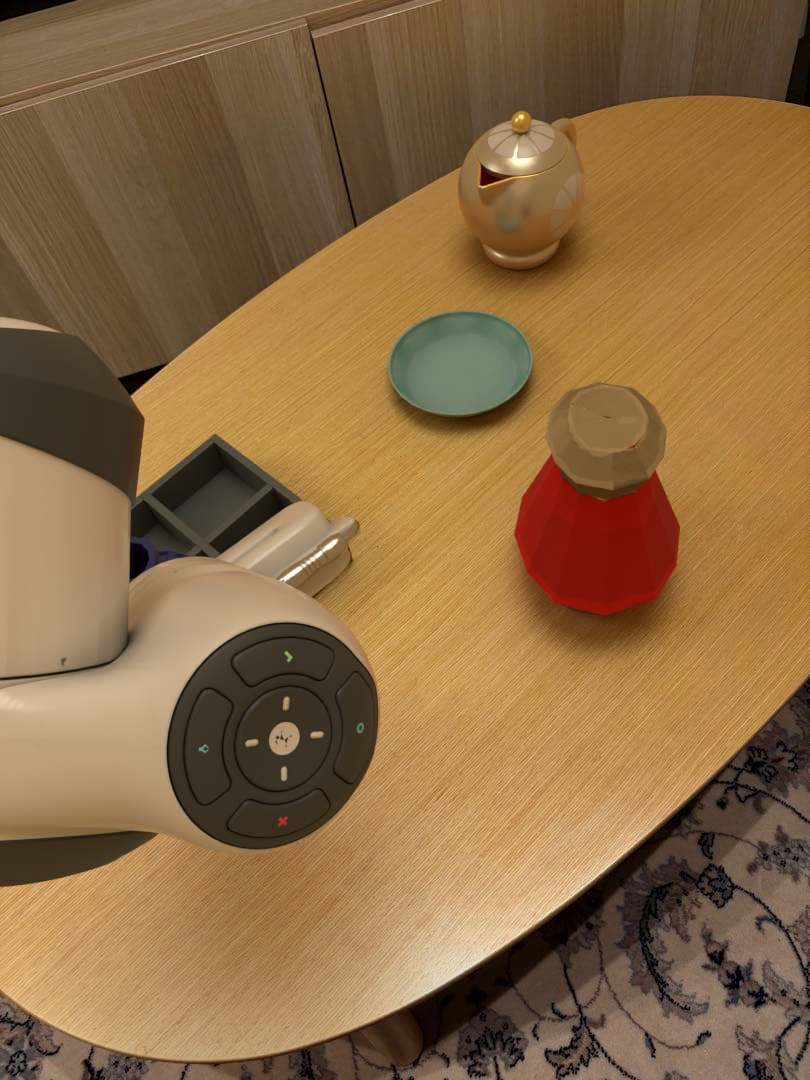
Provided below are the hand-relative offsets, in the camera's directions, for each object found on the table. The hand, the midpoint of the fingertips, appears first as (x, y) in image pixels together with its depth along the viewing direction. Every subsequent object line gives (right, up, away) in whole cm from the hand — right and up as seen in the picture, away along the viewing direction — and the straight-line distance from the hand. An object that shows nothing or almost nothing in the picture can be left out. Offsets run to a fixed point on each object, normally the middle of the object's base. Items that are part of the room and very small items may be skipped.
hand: (164, 615), depth 53 cm
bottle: (+31, +2, +23) cm, 39 cm away
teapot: (+29, +39, +47) cm, 68 cm away
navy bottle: (+1, -5, +7) cm, 9 cm away
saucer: (+21, +21, +37) cm, 47 cm away
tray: (-3, +2, +27) cm, 27 cm away
